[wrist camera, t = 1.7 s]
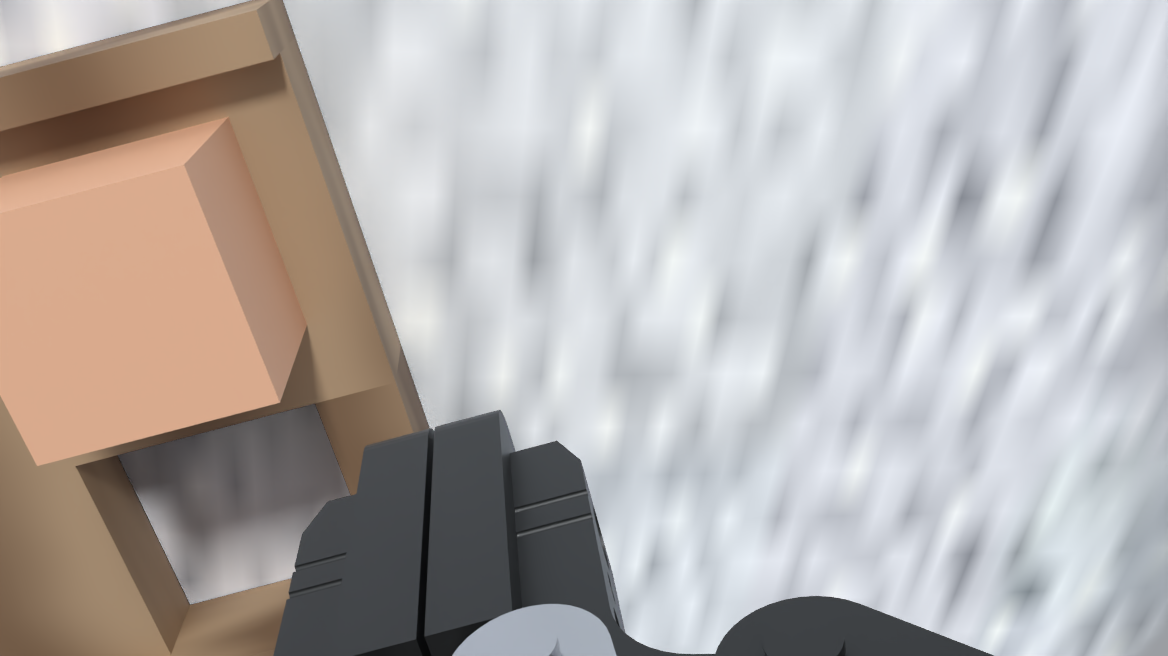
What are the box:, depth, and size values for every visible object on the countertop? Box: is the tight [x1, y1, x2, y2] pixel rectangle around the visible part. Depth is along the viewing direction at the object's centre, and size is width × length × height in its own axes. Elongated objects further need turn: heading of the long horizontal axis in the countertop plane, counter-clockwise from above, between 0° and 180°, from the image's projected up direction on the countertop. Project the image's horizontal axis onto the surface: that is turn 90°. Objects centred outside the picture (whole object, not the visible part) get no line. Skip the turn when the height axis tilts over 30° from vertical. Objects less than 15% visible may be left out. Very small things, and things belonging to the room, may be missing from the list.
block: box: [0, 117, 307, 466], centre depth 23 cm, size 5×5×4 cm
